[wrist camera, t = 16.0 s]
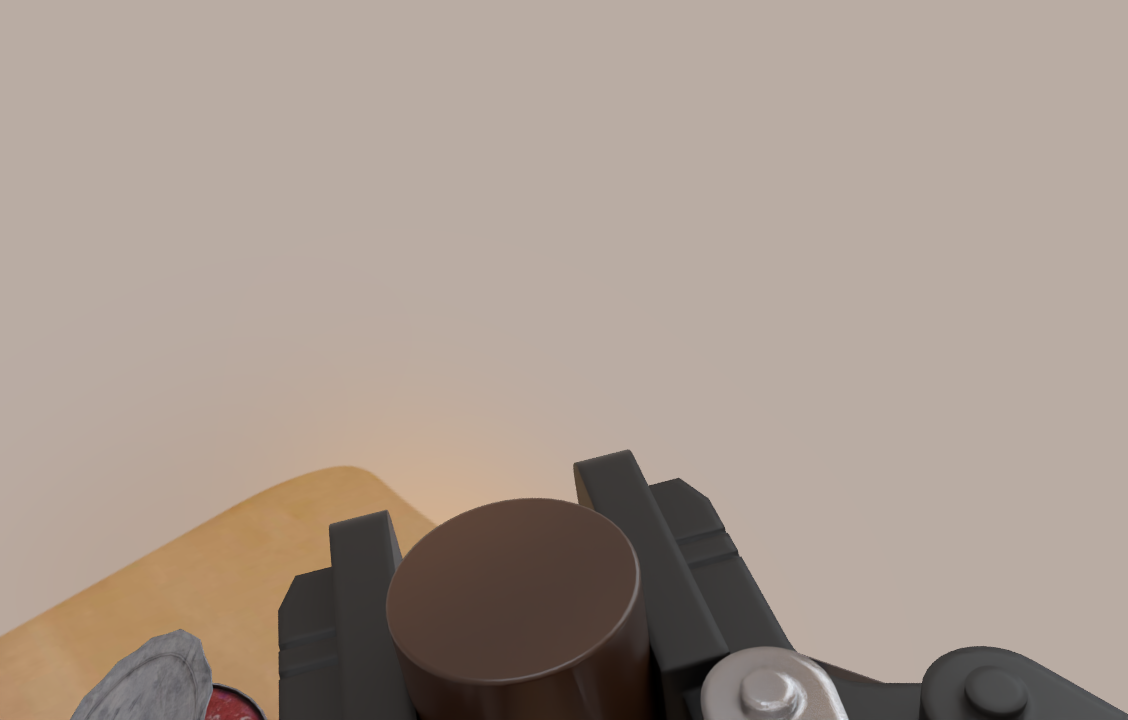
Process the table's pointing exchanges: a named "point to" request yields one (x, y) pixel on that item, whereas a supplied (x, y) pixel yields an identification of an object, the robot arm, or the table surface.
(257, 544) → the table surface
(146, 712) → the canned food
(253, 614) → the table surface
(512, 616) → the stick
